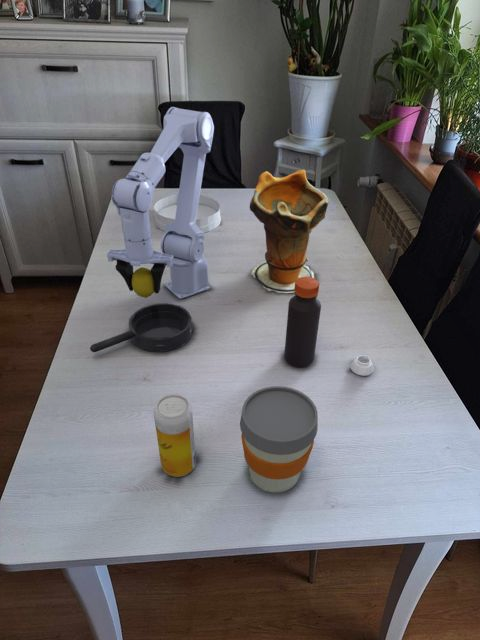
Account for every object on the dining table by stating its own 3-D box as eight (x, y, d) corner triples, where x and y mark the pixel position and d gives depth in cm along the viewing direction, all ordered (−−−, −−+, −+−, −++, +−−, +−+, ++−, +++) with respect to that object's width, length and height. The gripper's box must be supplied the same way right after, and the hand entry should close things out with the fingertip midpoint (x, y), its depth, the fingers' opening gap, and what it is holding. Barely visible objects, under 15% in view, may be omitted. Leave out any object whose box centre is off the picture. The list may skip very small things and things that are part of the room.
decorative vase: (268, 307, 126) (274, 203, 109) (235, 265, 142) (236, 169, 125) (337, 292, 133) (353, 192, 116) (298, 254, 149) (307, 161, 132)
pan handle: (132, 334, 112) (131, 328, 111) (135, 338, 111) (134, 332, 110) (89, 350, 107) (88, 344, 106) (92, 355, 106) (91, 348, 105)
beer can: (162, 452, 88) (154, 393, 79) (196, 451, 89) (192, 392, 80) (160, 480, 84) (151, 420, 74) (195, 478, 84) (191, 419, 75)
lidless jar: (365, 360, 111) (346, 365, 109) (367, 350, 109) (348, 355, 108) (377, 373, 108) (357, 379, 106) (379, 363, 106) (360, 369, 104)
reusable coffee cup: (306, 443, 91) (314, 385, 82) (313, 501, 82) (324, 443, 72) (239, 443, 91) (240, 384, 81) (239, 502, 81) (240, 443, 72)
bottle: (297, 345, 114) (305, 270, 102) (319, 359, 111) (331, 283, 98) (277, 357, 111) (283, 281, 98) (299, 372, 107) (308, 295, 94)
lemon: (153, 305, 112) (149, 275, 107) (130, 302, 113) (125, 272, 108) (161, 293, 116) (158, 263, 111) (139, 289, 117) (135, 260, 112)
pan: (173, 309, 124) (172, 296, 121) (203, 337, 115) (203, 324, 113) (120, 328, 117) (118, 315, 114) (148, 360, 108) (146, 347, 106)
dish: (217, 236, 157) (217, 221, 154) (149, 233, 156) (147, 218, 153) (223, 208, 174) (222, 195, 171) (161, 206, 174) (159, 192, 170)
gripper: (97, 241, 102) (108, 296, 111) (165, 247, 101) (170, 302, 110) (110, 227, 107) (119, 280, 116) (174, 232, 106) (178, 285, 115)
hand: (144, 289), depth 113 cm, fingers closed on lemon, 5 cm apart
